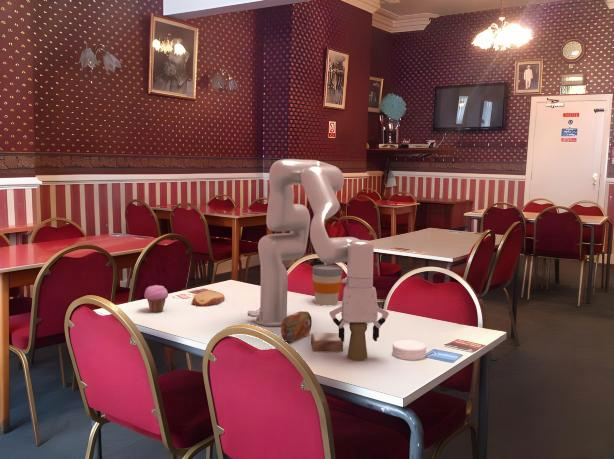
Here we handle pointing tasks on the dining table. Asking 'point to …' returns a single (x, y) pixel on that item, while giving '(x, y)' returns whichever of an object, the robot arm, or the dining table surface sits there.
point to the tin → (296, 326)
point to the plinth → (326, 342)
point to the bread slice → (208, 298)
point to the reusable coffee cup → (326, 283)
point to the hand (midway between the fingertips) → (358, 340)
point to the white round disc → (409, 350)
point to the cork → (357, 342)
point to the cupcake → (156, 297)
